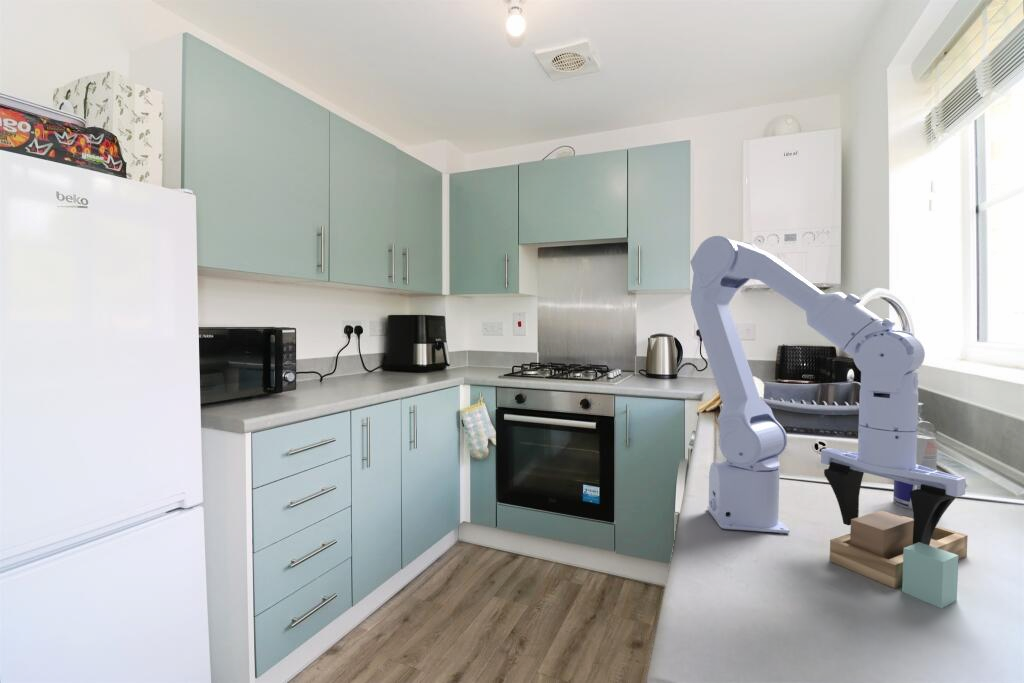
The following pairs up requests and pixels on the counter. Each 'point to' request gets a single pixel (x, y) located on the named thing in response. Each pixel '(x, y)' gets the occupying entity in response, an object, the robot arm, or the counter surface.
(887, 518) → the tan cardboard box
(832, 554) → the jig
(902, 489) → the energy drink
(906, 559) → the block
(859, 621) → the counter surface
